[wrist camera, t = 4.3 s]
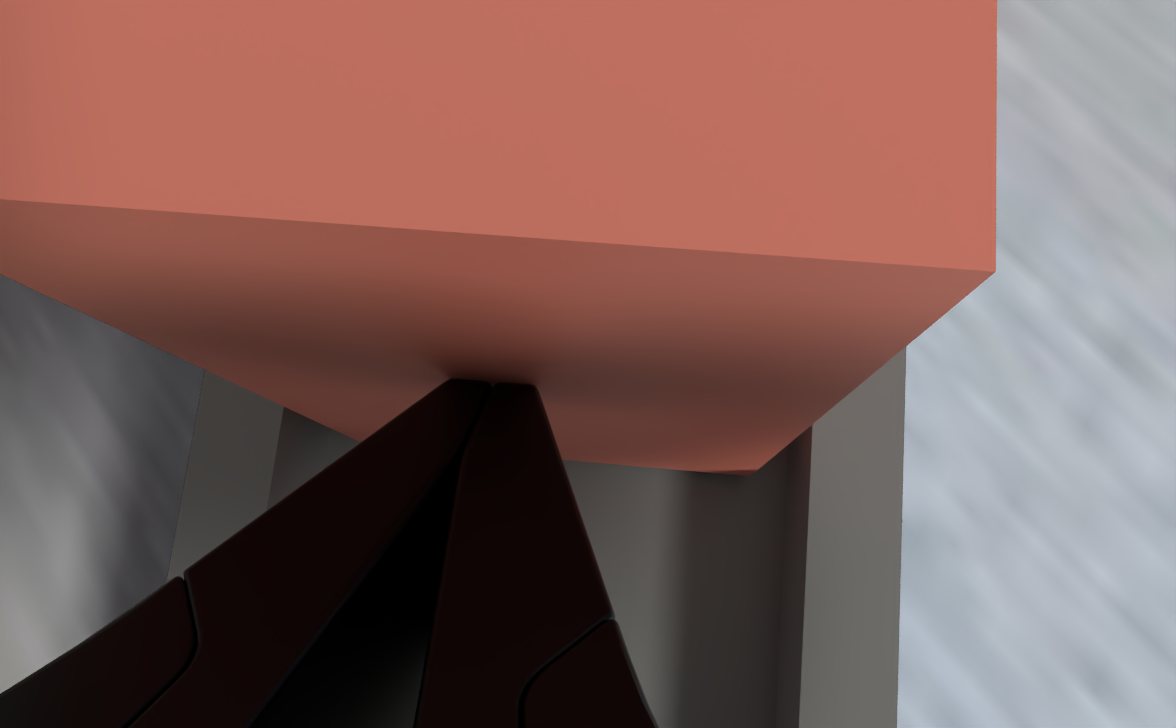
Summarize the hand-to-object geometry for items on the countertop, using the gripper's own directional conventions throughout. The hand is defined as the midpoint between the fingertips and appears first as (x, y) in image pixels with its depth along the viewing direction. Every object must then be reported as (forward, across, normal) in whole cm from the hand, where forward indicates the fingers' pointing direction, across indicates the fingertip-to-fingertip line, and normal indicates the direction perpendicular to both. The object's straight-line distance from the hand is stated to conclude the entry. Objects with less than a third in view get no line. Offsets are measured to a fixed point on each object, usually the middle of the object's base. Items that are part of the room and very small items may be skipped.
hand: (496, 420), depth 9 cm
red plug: (+6, 0, +2) cm, 6 cm away
